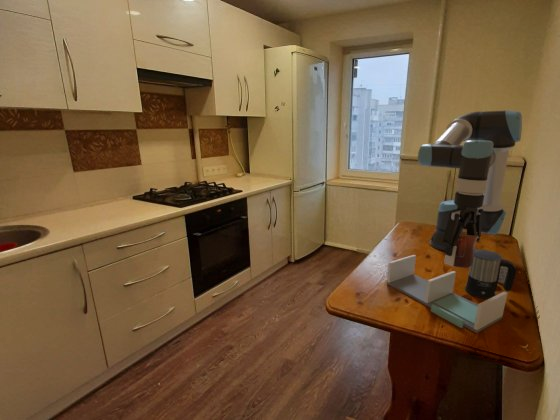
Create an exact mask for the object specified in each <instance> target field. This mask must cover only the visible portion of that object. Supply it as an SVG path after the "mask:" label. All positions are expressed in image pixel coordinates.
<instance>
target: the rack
mask: <svg viewBox="0 0 560 420" xmlns="http://www.w3.org/2000/svg"><path fill="white" fill-rule="evenodd" d="M416 259H417V255H415V254H412V255H409V256H405V257H401V258H399V259H398V258H397V259H394V260H392V261H389V262H388V269H387V279H386V285H388V286H390V287H391V288H393V289H396V290H397V291H399V292H401V293H402V294H404V295H406V296H408V297H410V298H411V299H413V300H415V301H418V302H419V303H421V304H423V305H424V306H425V307H428V308H430V312H431V313H433V314H434V315H436V316H439V317H441V319H444V320H446V321H448V322H450V323H451V324H453V325H455V326H457V327H458V328H460V329H463V328H467V329H468V330H470V331H472V332H474V333H475V334H478V333H480V332H481V331H483V330H485V329H487V328H489V327H491V326H492V325H494V324H495V323H497V322H499V321H501V320H502V319H503V315H504V311H505V306H506V303H507V297H508V292H507V291H503V292H500V293H498V294H495V296H494V297H492V298H487V299H486V300H484V301H482V302H480V303H476V302H473V301H471V300H469V299H467V298H465V297H463V296H461V295H458V294H456V293H455V292H454V286H455V280H456V276H457V275H456V274H457V272H456V271H454V270H451V271H449V272H447V273H444V274H441V275H438V276H436V277H433V278H431V279H425V278H422V277H420V276H418V275H417V274H415V267H416Z"/></svg>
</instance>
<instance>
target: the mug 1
mask: <svg viewBox="0 0 560 420" xmlns="http://www.w3.org/2000/svg"><path fill="white" fill-rule="evenodd" d="M477 238H479V237H478V235H477V234H475V235H473V236H471V235H467V231H463V232H461V233H460V236H459V238H458V240H457V242H456V244H455V246H457V248H456V254H455V260H454V266H453V267H456V268H463V269H467V268H470V266H472V263H473V257H474V250H475V245H476V242H477V241H476V240H477Z"/></svg>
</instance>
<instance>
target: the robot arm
mask: <svg viewBox="0 0 560 420" xmlns="http://www.w3.org/2000/svg"><path fill="white" fill-rule="evenodd" d="M522 117H523V116H522V112H520V111H518V110H490V111H488V110H486V111H481V110H480V111H472V112H469V113H468V112H467V113H465V114H462V115H460V116H458V117H456V118H454V119H453V120H452V121H451V122H450V123H449V124H448V125H447V126H446V129H445V131H444V132H443V133H442V134H441V135H440V136H439V137H438V139H436V141H434V142H433V143H425V144H424V143H423V144H422V145H420V147H419V149H418V153H417V162H418V165H420V166H425V167H428V168H429V167H432V168H433V167H435V168H448V169H459V170H458V176H457V179H456V192H455V194H454V199H450V200H444V201H441V202H440V203H439V207H438V209H437V212H438V213H437V219H436V224H435V225H436V227H435V230H434V232H433V234H432V235H431V238H430V241H429V245H430V246H431V247H432V248H434V249H436V250H439V251H440V250H441V251H443V252H445V253H444V261H443V264H444V265H447V266H450V267H455V266H454V260H455V254H456V248H457V246H455V244H456V242H457V240H458V238H459V236H460V233H461V232H464V230H466V232H467V235H471V236H473V235H475V234H477V235H478V238H477V240H476V242H480V239H481V237H482V234H486V235H487V234H488V235H497V234H499V233H500V230H501V228H502V226H503V223H504V221H505V220H504V219H505V217H506V214H507V210H505V209H504V205H503V204H502V203H501V198H502V193H503V187H504V186H503V185H504V181H505V176H506V170H507V165H508V159H509V155H510V150H511V149H512V148H514V147H515V146H516V143H519V142H521V140H522V131H523V118H522ZM462 143H463V144H462Z"/></svg>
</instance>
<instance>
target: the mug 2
mask: <svg viewBox="0 0 560 420" xmlns="http://www.w3.org/2000/svg"><path fill="white" fill-rule="evenodd" d="M514 266H515V267H517V266H516V265H515V264H514ZM507 271H508V268H507V267H504V266H501V268H500V274H499V280H498V284H502V285H504V282H505V278H506V275H507Z"/></svg>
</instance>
